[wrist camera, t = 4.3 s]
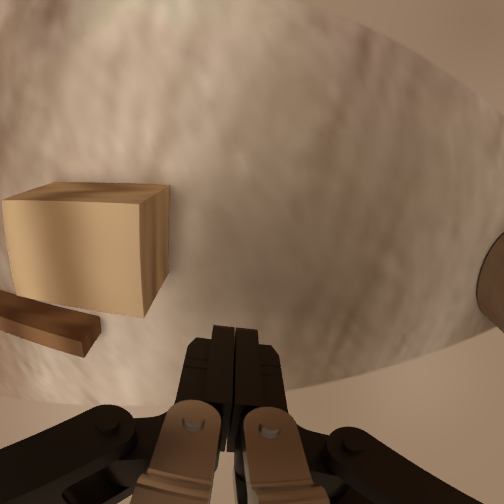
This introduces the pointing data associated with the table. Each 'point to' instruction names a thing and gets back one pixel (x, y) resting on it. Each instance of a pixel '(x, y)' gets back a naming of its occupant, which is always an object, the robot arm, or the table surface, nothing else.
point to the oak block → (90, 244)
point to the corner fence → (48, 324)
